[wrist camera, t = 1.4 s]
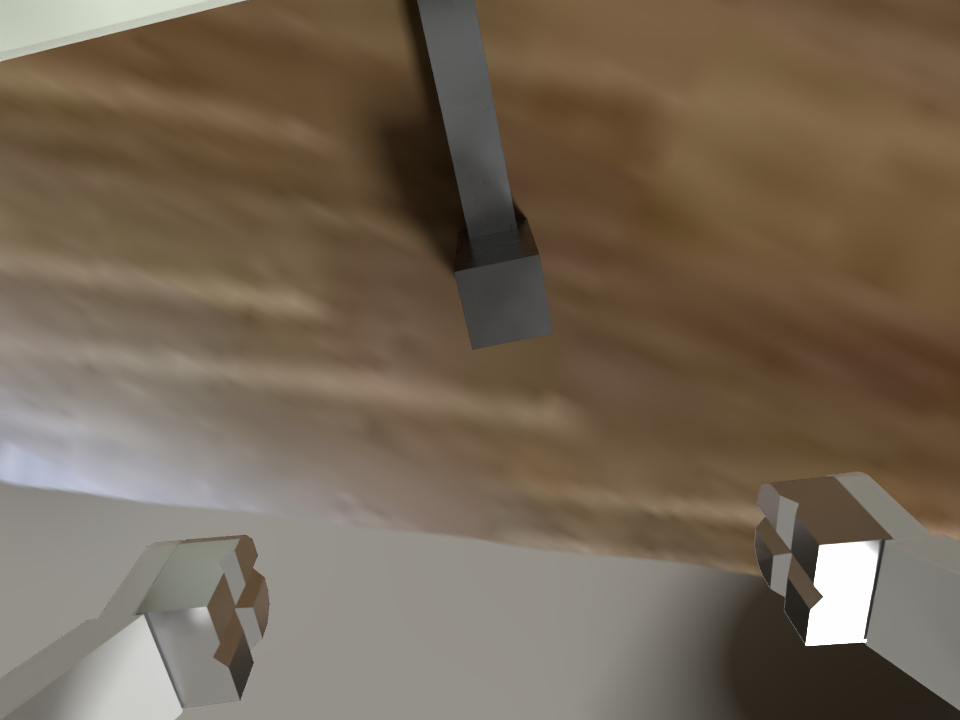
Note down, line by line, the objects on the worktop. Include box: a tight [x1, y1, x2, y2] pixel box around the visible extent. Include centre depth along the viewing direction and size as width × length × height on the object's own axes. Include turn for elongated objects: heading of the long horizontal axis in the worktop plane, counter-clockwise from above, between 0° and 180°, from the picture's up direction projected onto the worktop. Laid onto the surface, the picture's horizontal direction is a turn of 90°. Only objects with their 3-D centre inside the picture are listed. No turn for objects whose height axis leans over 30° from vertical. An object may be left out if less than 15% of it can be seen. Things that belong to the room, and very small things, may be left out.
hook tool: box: [417, 0, 553, 350], centre depth 22 cm, size 8×18×6 cm, turn 12°
